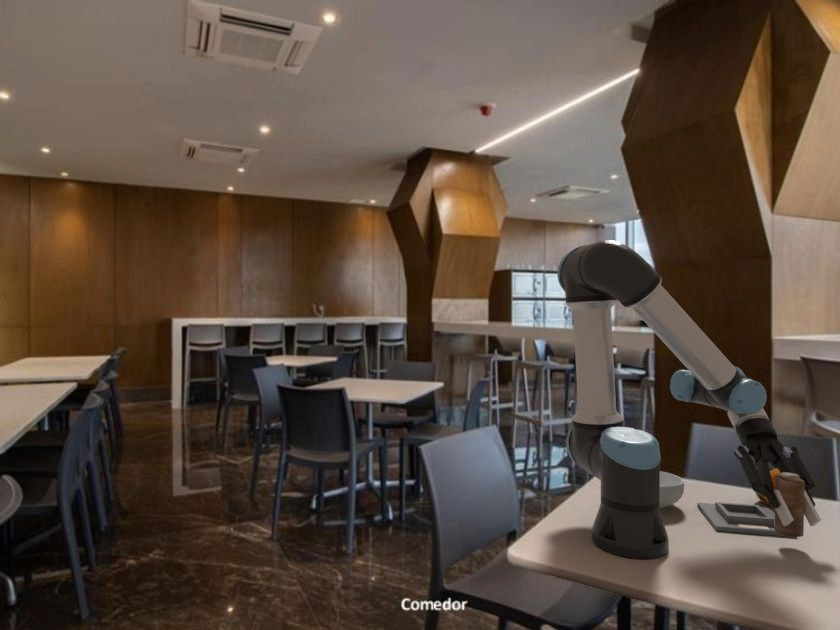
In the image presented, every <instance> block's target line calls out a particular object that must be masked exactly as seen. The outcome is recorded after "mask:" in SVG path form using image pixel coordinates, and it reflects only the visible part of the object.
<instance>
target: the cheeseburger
mask: <svg viewBox="0 0 840 630" xmlns="http://www.w3.org/2000/svg"><path fill="white" fill-rule="evenodd" d="M770 474H771V478H772V482H773V487H774V489H773V491H774V490H775V489H776V476H781V472H780V471H779V470H778V469H777V468H773V469H770ZM761 493H762V492H759V491H758V492H755V496H756V497H757V498H758V499H759V501H760V503H763V504H765V505H767V506H769V507H771V506H770V503H769V501H768V500H767V497H763V496H762V495H761Z"/></svg>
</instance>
